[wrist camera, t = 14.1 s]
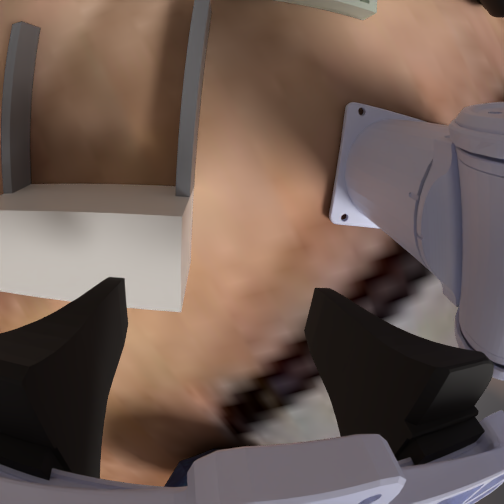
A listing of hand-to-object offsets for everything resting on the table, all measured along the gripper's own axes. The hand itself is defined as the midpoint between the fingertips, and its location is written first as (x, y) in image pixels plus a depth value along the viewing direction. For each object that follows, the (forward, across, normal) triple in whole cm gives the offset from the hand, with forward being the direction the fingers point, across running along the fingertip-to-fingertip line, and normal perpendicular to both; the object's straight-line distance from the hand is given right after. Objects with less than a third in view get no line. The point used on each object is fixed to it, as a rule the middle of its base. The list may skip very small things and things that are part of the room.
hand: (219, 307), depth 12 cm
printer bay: (+10, +8, -5) cm, 14 cm away
